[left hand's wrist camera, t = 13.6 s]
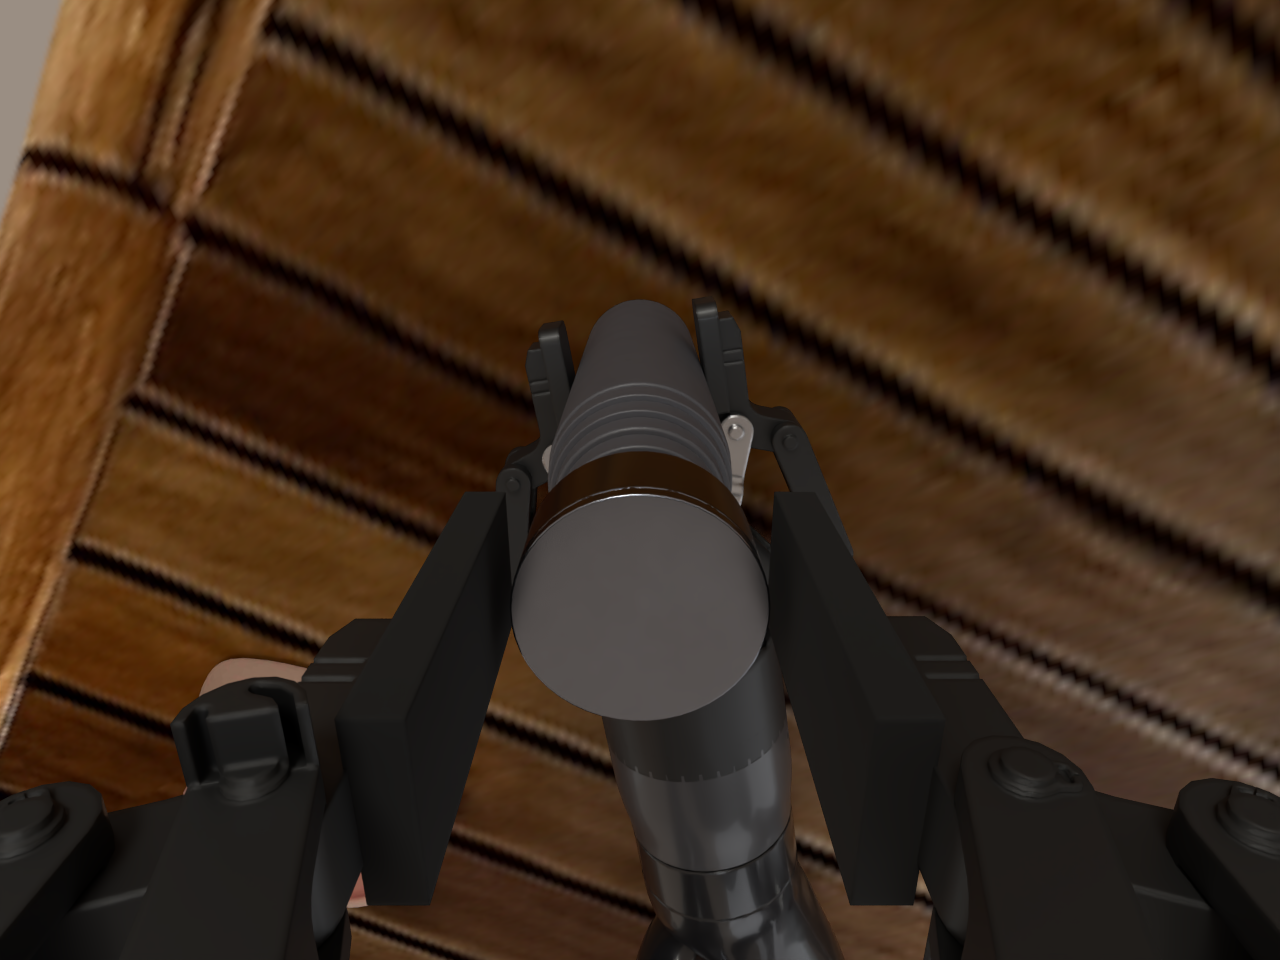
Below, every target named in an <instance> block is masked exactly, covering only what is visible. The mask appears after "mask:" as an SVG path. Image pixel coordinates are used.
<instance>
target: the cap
mask: <svg viewBox="0 0 1280 960" xmlns="http://www.w3.org/2000/svg"><path fill="white" fill-rule="evenodd" d="M510 616H511V625H512V629H513V633H514V637H515V640H516V642H517V645H518V647H519V650H520V652H521V654H522V655H523V657H524V659H525V661H526V663H527V664H528V666H529V667H530V668H531V670H532V671H533V672H534V673H535V675H536V676H537V677H538V678H539V679H540V680H541V681H542V682H543V683H544V684H545V685H546V686H547V687H548V688H549V689H550V690H552V691H553V692H554V693H555V694H557V695H558V696H559V697H561V698H563V699H564V700H566V701H567V702H569V703H571V704H572V705H575V706H577V707H579V708H581V709H583V710H585V711H588V712H591V713H594V714H597V715H600V716H604V717H609V718H613V719H618V720H629V721H652V720H661V719H667V718H672V717H676V716H680V715H684V714H686V713H689V712H692V711H695V710H697V709H699V708H701V707H703V706H706V705H708V704H710V703H711V702H713V701H714V700H716V699H718V698H719V697H721V696H722V695H724V694H725V693H726V692H727V691H729V690H730V689H731V688H732V687H733V686H735V685H736V684H737V683H738V682H739V680H740V679H741V678H742V677H743V676H744V675H745V674H746V673H747V671H748V670H749V669H750V667H751V666H752V664H753V663H754V662H755V660H756V658H757V656H758V654H759V652H760V650H761V648H762V646H763V643H764V640H765V638H766V635H767V630H768V626H769V621H770V594H769V588H768V584H767V580H766V576H765V572H764V569H763V567H762V563H761V560H760V557H759V554H758V551H757V548H756V545H755V542H754V539H753V536H752V532H751V529H750V526H749V523H748V521H747V518H746V516H745V514H744V511H743V509H742V508H741V506H740V504H739V503H738V501H737V499H736V498H735V497H734V496H733V494H732V493H731V492H730V491H729V489H728V488H727V487H726V486H725V485H724V484H723V483H722V482H721V481H720V480H718V479H717V478H716V477H715V476H713V475H712V474H711V473H709V472H708V471H707V470H705V469H703V468H702V467H700V466H698V465H696V464H694V463H692V462H690V461H687V460H685V459H682V458H679V457H677V456H673V455H668V454H664V453H658V452H649V451H630V452H623V453H615V454H612V455H608V456H604V457H600V458H598V459H595V460H593V461H590V462H588V463H586V464H584V465H582V466H581V467H579V468H577V469H575V470H574V471H572V472H571V473H570V474H568V475H567V476H566V477H564V478H563V479H562V480H561V481H560V482H559V483H558V484H557V485H556V486H555V487H554V488H552V489H551V491H550V492H549V493H548V495H547V496H546V497H545V499H544V500H543V501H542V503H541V505H540V507H539V508H538V510H537V512H536V514H535V517H534V519H533V522H532V524H531V527H530V530H529V533H528V536H527V539H526V543H525V546H524V549H523V552H522V555H521V558H520V561H519V564H518V567H517V571H516V573H515V577H514V580H513V585H512V589H511V597H510Z"/></svg>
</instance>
